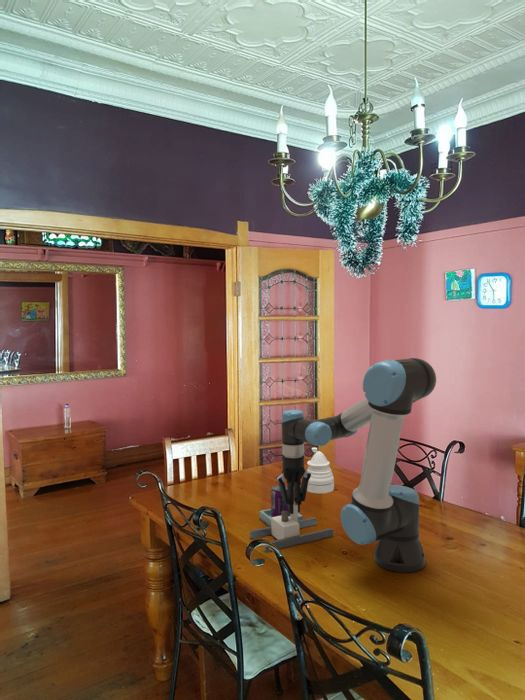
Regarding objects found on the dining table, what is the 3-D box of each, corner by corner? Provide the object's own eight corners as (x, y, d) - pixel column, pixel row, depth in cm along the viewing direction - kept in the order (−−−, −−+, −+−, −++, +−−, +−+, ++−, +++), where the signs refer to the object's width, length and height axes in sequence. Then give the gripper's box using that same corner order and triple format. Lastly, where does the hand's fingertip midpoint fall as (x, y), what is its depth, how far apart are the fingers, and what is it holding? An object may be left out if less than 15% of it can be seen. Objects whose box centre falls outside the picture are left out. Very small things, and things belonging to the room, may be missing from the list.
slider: (299, 541, 173) (299, 515, 172) (283, 544, 170) (283, 518, 170) (286, 530, 182) (286, 506, 181) (271, 534, 179) (270, 509, 178)
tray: (303, 523, 188) (302, 516, 188) (273, 530, 183) (273, 522, 183) (287, 513, 199) (287, 505, 199) (259, 518, 194) (259, 511, 194)
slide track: (333, 536, 177) (333, 529, 177) (265, 552, 166) (265, 544, 166) (314, 523, 188) (314, 517, 188) (250, 537, 177) (250, 530, 177)
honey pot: (301, 491, 224) (300, 450, 223) (309, 482, 236) (309, 444, 235) (329, 494, 219) (329, 453, 218) (337, 485, 231) (336, 446, 230)
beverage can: (288, 523, 187) (288, 491, 186) (269, 522, 188) (269, 490, 187) (291, 516, 194) (291, 485, 193) (273, 515, 195) (272, 484, 194)
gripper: (304, 450, 182) (305, 515, 184) (271, 455, 177) (272, 521, 178) (315, 455, 175) (316, 522, 177) (281, 460, 170) (282, 529, 171)
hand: (294, 522), depth 177 cm, fingers closed
